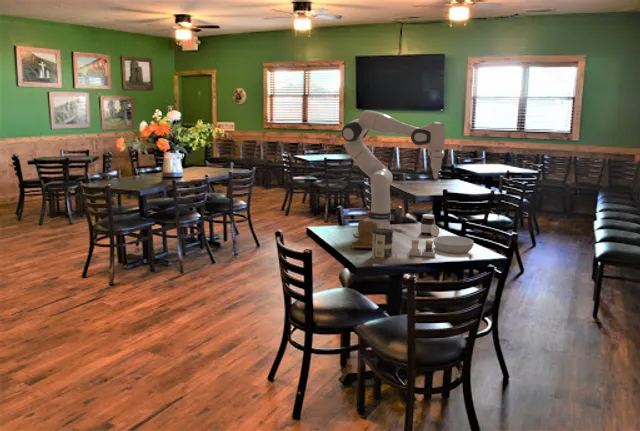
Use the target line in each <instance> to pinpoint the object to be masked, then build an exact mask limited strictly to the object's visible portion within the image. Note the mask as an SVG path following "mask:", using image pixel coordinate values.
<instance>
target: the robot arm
mask: <svg viewBox="0 0 640 431" xmlns="http://www.w3.org/2000/svg"><path fill="white" fill-rule="evenodd" d="M369 131H372V132H374V133H376V134H382V135H394V134H395V135H403V136H407V137H409V138H410V140H411V142H412V144H414V145H415V146H418V147H419V146H427V156H429V159H430V168H431V169H432V177H433V179H434V180H438V178H439V176H438V175H439V172H441V168H442V164H443V163H442V161H443V158H444V157H445V152H446V151H445V150H446V146H445V140H446V127H445V125H444V123H442V122H439V121H430V122H429V123H428V124H426V125H423V126H421V127H420V126H419V127H418V126H415V125H411V124H408V123H405V122H402V121H400V120H397V119H396V118H394V117H392V116H390V115H387V114H386V113H383V112H379V111H375V110H369V109H367V110H365V109H364V110H363V111H362V112H361V114H360V116H359V117H357V118H354V119H352V120H350V121H349V122H348V123H346V124H345V125H344V126H343V127H342V129H341V136H342V138H343V139H344V140H345V141H346V142H345V143H344V147H345V150H346V152H347V153H348V155H349V156H350V158H351V159H352V161H354V163H355V164H356V165H357V166H358V168H359V169H360V170H361V171H362V172H364V174H366V175H367V176H368V177H369V178H370V192H371V194H370V195H371V202H370V203H371V207H370V210H367V217H366V218H365V219H363V220H362V221H373V222H376V223H377V229H381V228H382V229H390V230H391V223H390V222H391V218H392V217H391V216H392V215H391V191H390V190H391V189H390V188H391V184H392V183H393V179H394V177H393V173H392V171H390V170H389V169H388V167H386V166H385V165H384V164H383V162H381V161H380V160H379V159H378V158H377V157H376V156H375V154H373V152H372V151H371V149H369V148H368V146H367V145H366V144H365V142H364V140H363V139H365V138H366V137H367V134H368V133H369ZM353 236H354V237H357V238H359V232H358V228H357V230H354V232H353Z"/></svg>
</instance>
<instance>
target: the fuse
mask: <svg viewBox="0 0 640 431" xmlns="http://www.w3.org/2000/svg"><path fill="white" fill-rule="evenodd" d="M419 242H420V240H418V239H411V248H412V250H411V251H418V249H419Z"/></svg>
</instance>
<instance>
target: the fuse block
mask: <svg viewBox="0 0 640 431" xmlns="http://www.w3.org/2000/svg"><path fill="white" fill-rule="evenodd" d="M411 250H412V247H411V248H409V247H408V251H407V258H419V259H431V260H432V259H434V260H436V258H437V257H436V251H435V249H432V252H425V248H422V250H421V248H418V251H411Z"/></svg>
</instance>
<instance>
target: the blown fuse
mask: <svg viewBox="0 0 640 431" xmlns="http://www.w3.org/2000/svg"><path fill="white" fill-rule="evenodd" d="M433 245H434V241H432V240H425V248H424V249H425V252H432V250H433Z"/></svg>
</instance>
